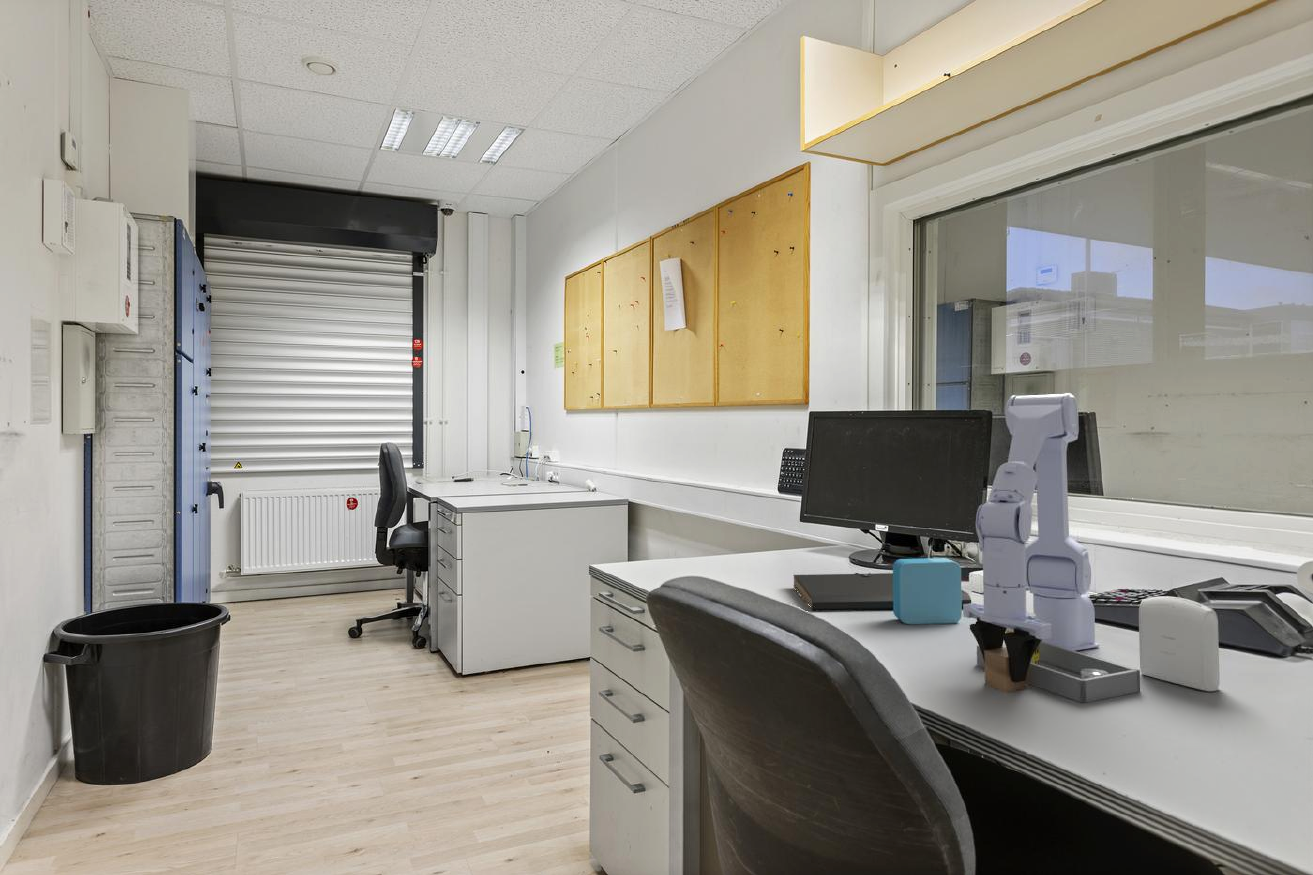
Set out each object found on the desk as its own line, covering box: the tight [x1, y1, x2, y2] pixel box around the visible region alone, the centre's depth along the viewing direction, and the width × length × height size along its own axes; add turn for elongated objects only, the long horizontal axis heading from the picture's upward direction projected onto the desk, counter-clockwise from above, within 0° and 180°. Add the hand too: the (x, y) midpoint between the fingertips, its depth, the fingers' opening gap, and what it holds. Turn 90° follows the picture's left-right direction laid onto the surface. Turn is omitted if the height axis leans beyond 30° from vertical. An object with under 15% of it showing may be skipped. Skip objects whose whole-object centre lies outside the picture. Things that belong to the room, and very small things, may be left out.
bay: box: [976, 641, 1141, 704], centre depth 117 cm, size 11×19×3 cm, turn 22°
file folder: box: [793, 572, 972, 612], centre depth 173 cm, size 33×4×24 cm
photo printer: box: [1138, 595, 1221, 692], centre depth 114 cm, size 10×4×12 cm, turn 26°
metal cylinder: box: [1080, 669, 1109, 679], centre depth 110 cm, size 4×4×3 cm
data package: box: [892, 557, 963, 625], centre depth 152 cm, size 12×4×12 cm, turn 91°
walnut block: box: [984, 646, 1028, 693], centre depth 113 cm, size 4×4×5 cm
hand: (1005, 676), depth 113 cm, fingers closed on walnut block, 4 cm apart
